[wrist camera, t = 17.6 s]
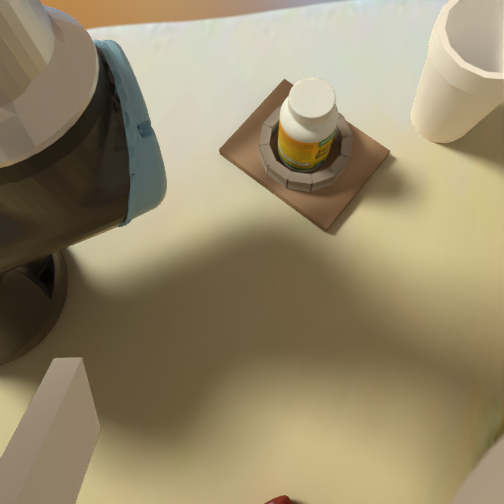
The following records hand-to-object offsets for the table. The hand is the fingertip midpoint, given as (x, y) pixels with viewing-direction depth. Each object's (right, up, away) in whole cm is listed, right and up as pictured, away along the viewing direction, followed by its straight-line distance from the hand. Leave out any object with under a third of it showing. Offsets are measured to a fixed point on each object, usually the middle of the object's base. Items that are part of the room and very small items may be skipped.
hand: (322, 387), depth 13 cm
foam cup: (+18, +18, +39) cm, 47 cm away
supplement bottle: (+3, +14, +37) cm, 40 cm away
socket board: (+4, +14, +38) cm, 40 cm away
